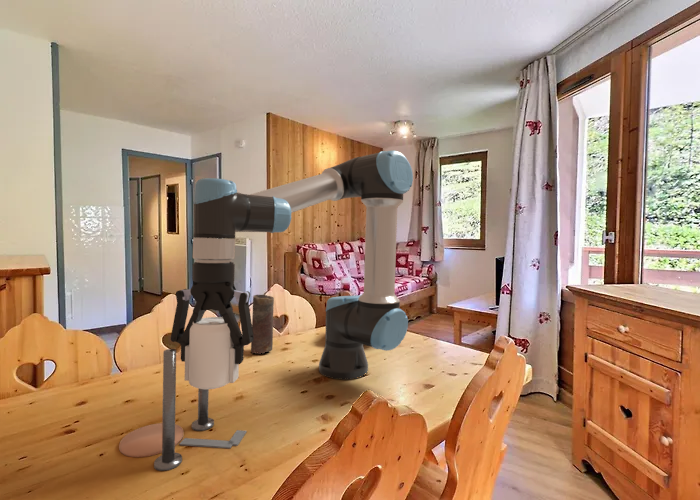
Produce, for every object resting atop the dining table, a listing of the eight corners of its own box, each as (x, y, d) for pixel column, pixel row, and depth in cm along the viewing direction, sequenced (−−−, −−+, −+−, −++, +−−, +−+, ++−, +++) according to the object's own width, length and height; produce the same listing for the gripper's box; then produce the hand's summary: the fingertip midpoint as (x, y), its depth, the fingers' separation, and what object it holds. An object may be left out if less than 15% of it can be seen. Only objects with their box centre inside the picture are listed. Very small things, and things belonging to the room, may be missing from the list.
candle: (263, 347, 132) (264, 293, 132) (277, 351, 128) (278, 295, 128) (246, 352, 126) (247, 295, 126) (260, 357, 122) (261, 298, 121)
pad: (193, 427, 76) (193, 424, 76) (163, 459, 65) (163, 455, 65) (143, 424, 76) (143, 421, 76) (104, 455, 65) (104, 451, 65)
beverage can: (196, 375, 73) (198, 316, 73) (237, 374, 74) (239, 316, 74) (182, 391, 65) (183, 325, 65) (228, 391, 66) (229, 326, 66)
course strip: (246, 432, 74) (246, 430, 74) (235, 448, 69) (235, 447, 68) (194, 428, 75) (194, 427, 75) (179, 445, 69) (179, 443, 69)
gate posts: (217, 421, 79) (219, 329, 78) (173, 471, 61) (175, 355, 61) (197, 419, 79) (199, 329, 78) (148, 470, 62) (150, 354, 61)
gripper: (273, 261, 72) (270, 374, 73) (172, 258, 73) (170, 369, 74) (261, 264, 65) (259, 389, 65) (149, 260, 66) (147, 384, 66)
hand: (211, 378), depth 69 cm, fingers closed on beverage can, 8 cm apart
